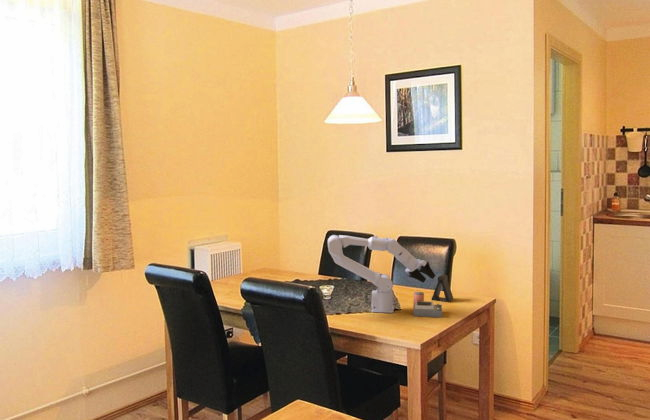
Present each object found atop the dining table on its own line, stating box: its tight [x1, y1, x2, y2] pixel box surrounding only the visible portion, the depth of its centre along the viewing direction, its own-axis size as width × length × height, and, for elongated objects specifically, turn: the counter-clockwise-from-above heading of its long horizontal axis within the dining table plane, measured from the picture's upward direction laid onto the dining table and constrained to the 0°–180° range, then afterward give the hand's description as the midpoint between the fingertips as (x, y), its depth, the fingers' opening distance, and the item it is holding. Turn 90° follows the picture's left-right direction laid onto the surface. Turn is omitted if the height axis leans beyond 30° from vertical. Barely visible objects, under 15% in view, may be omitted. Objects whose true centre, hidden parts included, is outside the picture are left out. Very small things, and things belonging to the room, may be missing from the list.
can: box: [413, 291, 425, 305], centre depth 254 cm, size 5×5×7 cm
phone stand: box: [431, 273, 454, 303], centre depth 268 cm, size 9×6×12 cm, turn 60°
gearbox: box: [413, 300, 443, 318], centre depth 245 cm, size 12×9×4 cm
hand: (429, 279), depth 250 cm, fingers open, 7 cm apart
